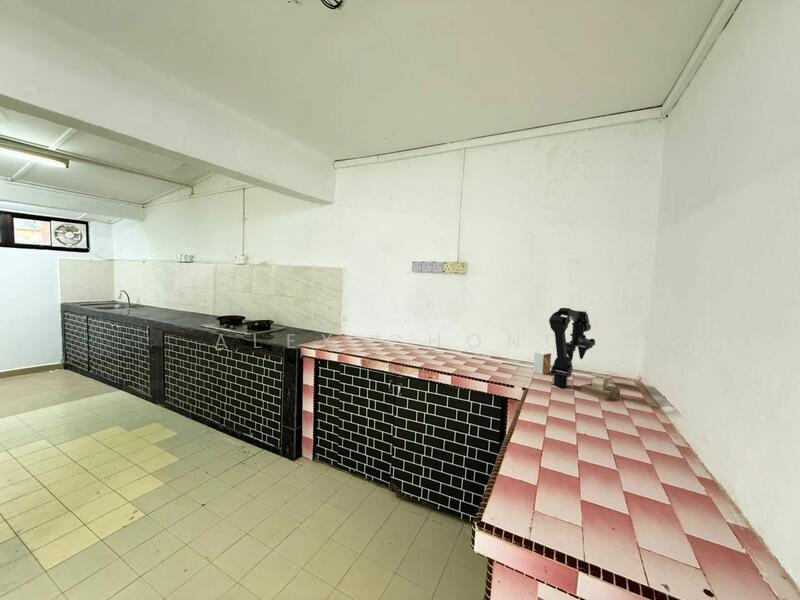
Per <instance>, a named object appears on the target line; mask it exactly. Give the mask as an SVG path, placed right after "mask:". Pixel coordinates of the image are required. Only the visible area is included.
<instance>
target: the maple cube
mask: <svg viewBox="0 0 800 600" xmlns="http://www.w3.org/2000/svg"><path fill="white" fill-rule="evenodd" d="M609 381H610V378H608V377H604V376H600V375H595V376H592V381H591V382H592V387H595V388H598V389H601V390H604V389H608V387H609Z"/></svg>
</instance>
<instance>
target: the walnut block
mask: <svg viewBox="0 0 800 600" xmlns="http://www.w3.org/2000/svg"><path fill="white" fill-rule="evenodd" d="M580 393H582V394H586V395H588V396H591V397H594V398H596V399H600V400H602V401H608V400H614V399H617V398H621V397H620V396H621V390H620V389H618V388H614V387H611V386H608V389H604V390H601V389H598V388H595V387H592V383H587V384H582V385H580Z"/></svg>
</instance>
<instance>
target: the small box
mask: <svg viewBox="0 0 800 600" xmlns="http://www.w3.org/2000/svg"><path fill="white" fill-rule="evenodd" d="M533 354H534V355H533V356H534V357H533V369H532V370H533V372H535V373H538V374H541V375H545V374H549V373H551V362H552V361H551V358H552V353H551V352H547V351H542V350H541V351H536V352H534V353H533Z"/></svg>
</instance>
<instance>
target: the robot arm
mask: <svg viewBox="0 0 800 600" xmlns="http://www.w3.org/2000/svg"><path fill="white" fill-rule="evenodd" d="M571 321H573V322H571ZM570 322H571V325H572V330H571V331H572V332H571V333H570V336H571V340H570V341H569V342H568V341H566V340H567V339H566V330H567V329H568V327H569V324H570ZM548 323H549V327H550V329H551V331H553V333H554V339H555V350H556V351H555V352H556V358H555V360H554V362H553V365H552V367H551V368H550V374H553V375H554V377H553V383H551V384H550V385H552V386H554V387H557V388H559V389H567V388H570V385H568V378H569V377H571V376H572V373H573V369H574V368H573V362H572V361H573V357H574V353H575V351H576V350H577V349H578V350H577V351H578V356H579V359H580V360H583V359H584V357H585V354H586V352H587V351H588V350H590V349H593V346H595V345H596V339H594V338H590V339H589V338H587V336H586V334H585V332H586V333H587V332H589V331H590V330H591V329H592V325H591V324H590V319H589V314H588V313H587V312H586V311H583V310H574V309H572V308H570V307H560V308H559V309H558V310H557V311H555V312H553V313H552V315H550V317H549V319H548Z"/></svg>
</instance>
